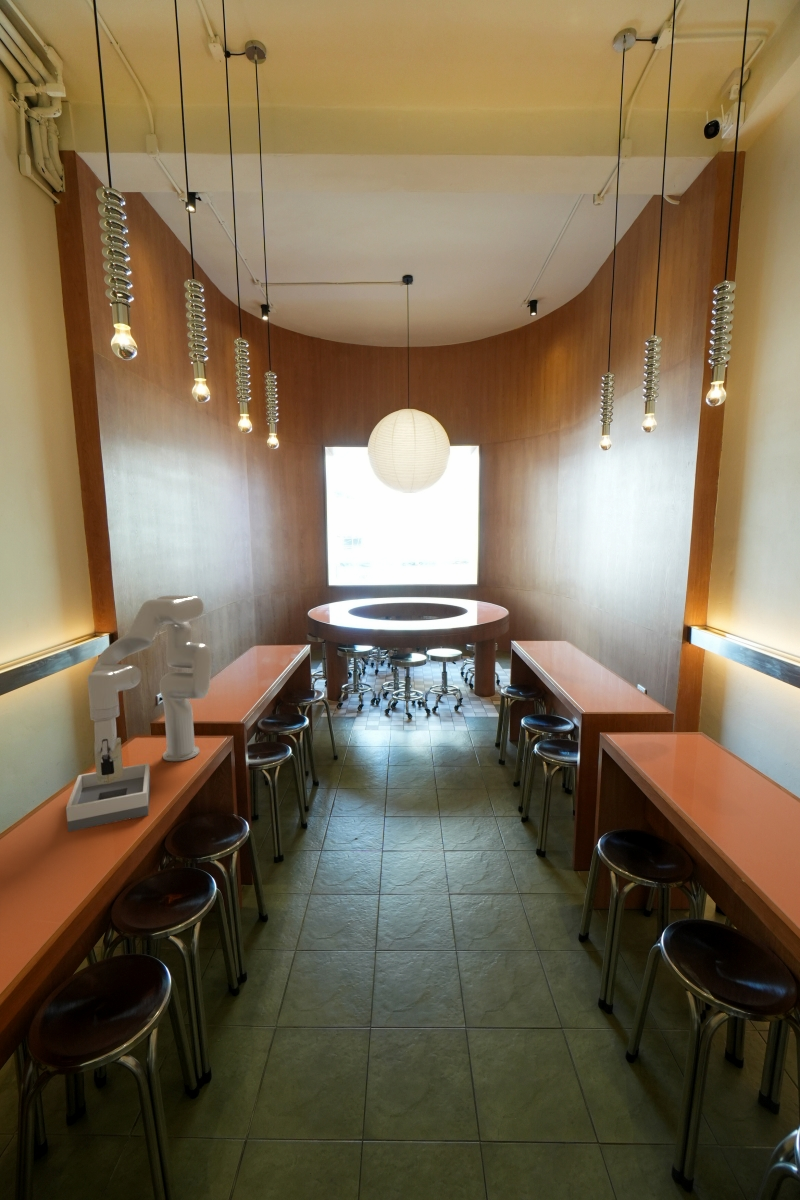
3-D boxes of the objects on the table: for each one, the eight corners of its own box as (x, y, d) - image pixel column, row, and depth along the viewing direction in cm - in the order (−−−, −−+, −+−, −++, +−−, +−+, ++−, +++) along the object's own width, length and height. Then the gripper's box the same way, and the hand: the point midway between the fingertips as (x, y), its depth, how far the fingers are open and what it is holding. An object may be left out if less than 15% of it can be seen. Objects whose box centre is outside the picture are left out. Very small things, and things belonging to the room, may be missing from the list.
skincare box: (108, 784, 153) (105, 745, 151) (96, 783, 154) (92, 744, 152) (124, 775, 159) (121, 737, 157) (111, 774, 160) (108, 736, 158)
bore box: (80, 796, 163) (78, 775, 162) (150, 783, 171) (148, 763, 170) (68, 831, 143) (66, 808, 142) (148, 815, 151) (146, 792, 151)
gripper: (94, 705, 160) (98, 760, 162) (86, 723, 144) (91, 783, 146) (121, 702, 163) (125, 755, 165) (116, 719, 147) (121, 778, 149)
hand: (109, 768), depth 156 cm, fingers closed on skincare box, 7 cm apart
